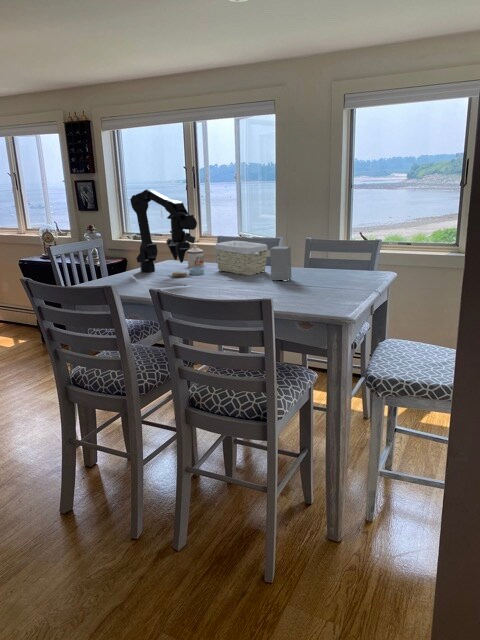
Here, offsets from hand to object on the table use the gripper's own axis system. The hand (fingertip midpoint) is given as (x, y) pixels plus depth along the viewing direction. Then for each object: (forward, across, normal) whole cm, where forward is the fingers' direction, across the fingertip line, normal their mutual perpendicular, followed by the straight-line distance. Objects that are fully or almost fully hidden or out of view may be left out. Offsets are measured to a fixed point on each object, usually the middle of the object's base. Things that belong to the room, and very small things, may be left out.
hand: (178, 261), depth 229 cm
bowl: (+8, +3, -10) cm, 14 cm away
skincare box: (+8, -28, -41) cm, 50 cm away
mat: (+8, 0, 0) cm, 8 cm away
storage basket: (+9, +1, -34) cm, 35 cm away
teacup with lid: (+9, +26, -19) cm, 33 cm away
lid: (+7, 0, 0) cm, 7 cm away
